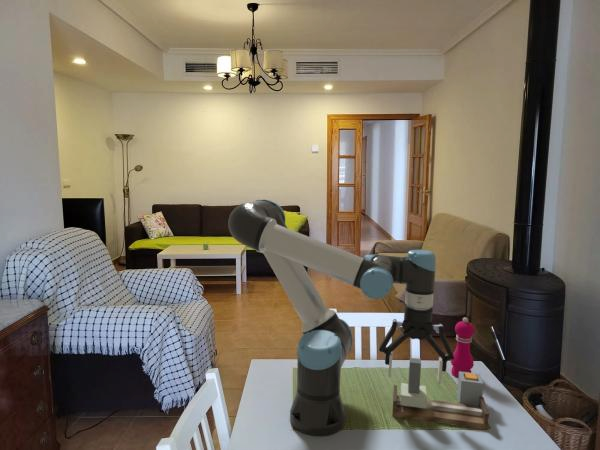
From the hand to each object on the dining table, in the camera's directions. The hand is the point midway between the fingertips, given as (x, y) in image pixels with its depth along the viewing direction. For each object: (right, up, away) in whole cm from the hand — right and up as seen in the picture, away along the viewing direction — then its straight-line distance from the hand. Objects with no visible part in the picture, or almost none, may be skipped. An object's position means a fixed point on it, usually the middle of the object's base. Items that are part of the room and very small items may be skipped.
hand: (414, 378), depth 125 cm
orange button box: (+18, -9, +6) cm, 21 cm away
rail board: (+7, -10, 0) cm, 12 cm away
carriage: (0, -7, +1) cm, 7 cm away
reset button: (+18, -7, +6) cm, 20 cm away
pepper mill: (+22, -7, +23) cm, 33 cm away
